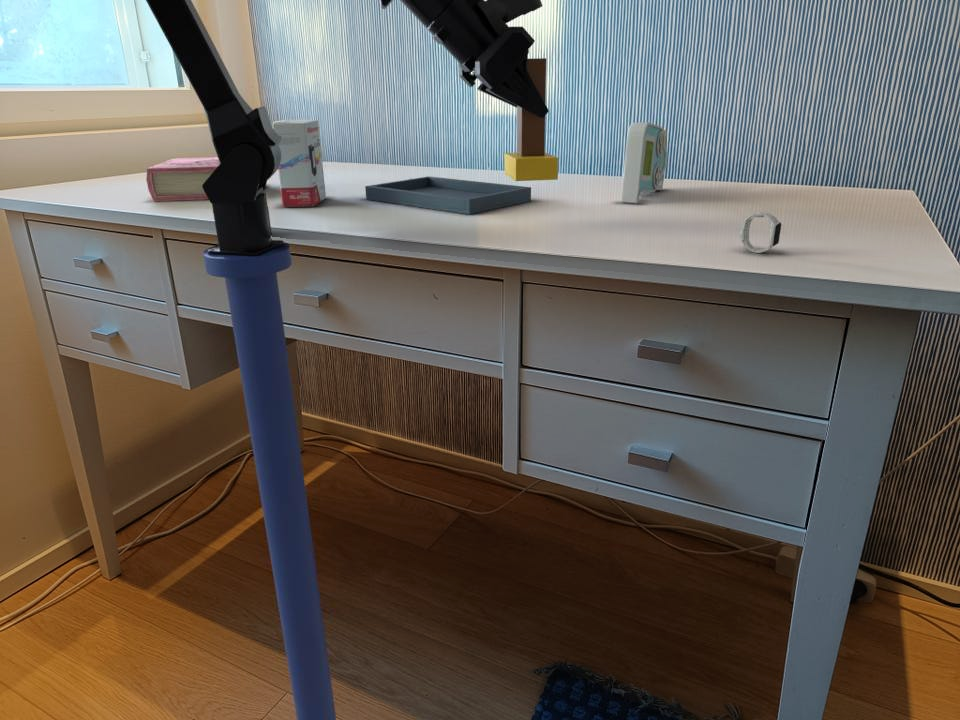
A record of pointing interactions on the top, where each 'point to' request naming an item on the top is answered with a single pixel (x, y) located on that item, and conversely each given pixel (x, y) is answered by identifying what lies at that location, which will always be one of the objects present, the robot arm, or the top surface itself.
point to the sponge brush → (532, 137)
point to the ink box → (300, 163)
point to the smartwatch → (773, 234)
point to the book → (180, 178)
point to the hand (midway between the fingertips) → (542, 114)
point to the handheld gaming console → (644, 160)
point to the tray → (449, 194)
